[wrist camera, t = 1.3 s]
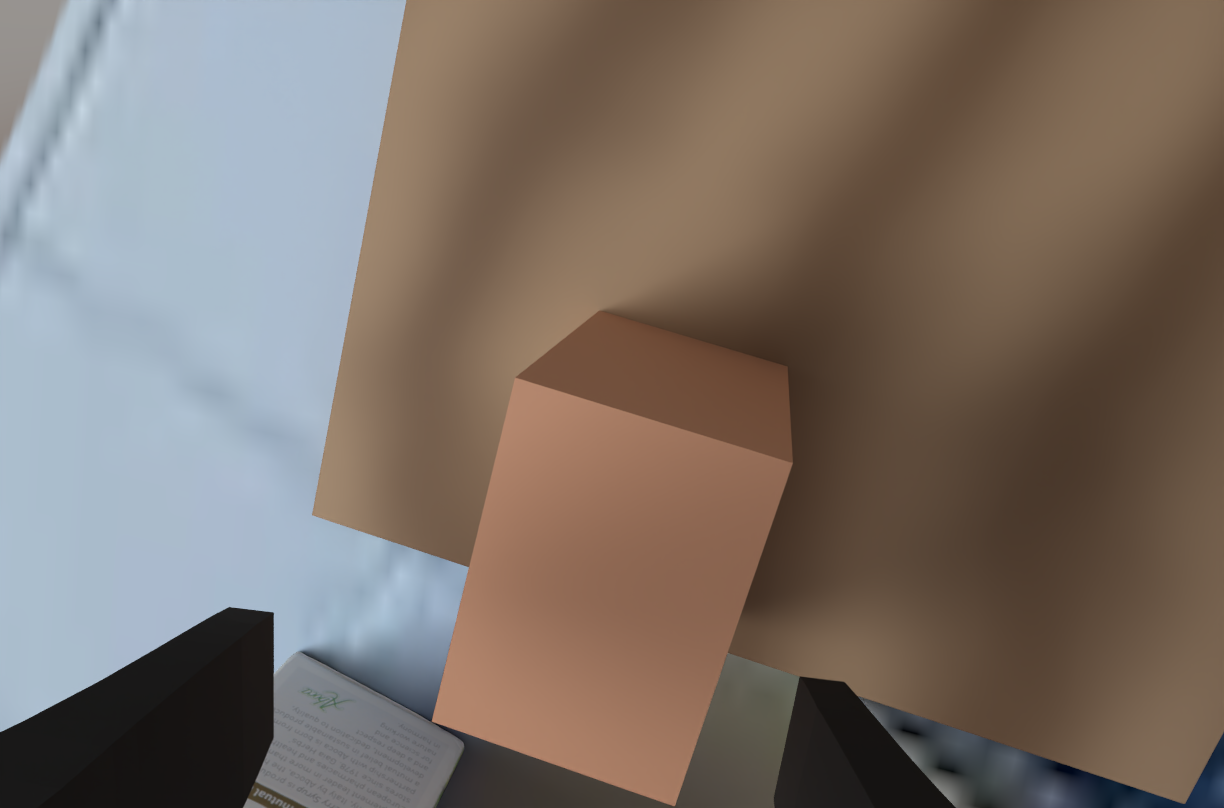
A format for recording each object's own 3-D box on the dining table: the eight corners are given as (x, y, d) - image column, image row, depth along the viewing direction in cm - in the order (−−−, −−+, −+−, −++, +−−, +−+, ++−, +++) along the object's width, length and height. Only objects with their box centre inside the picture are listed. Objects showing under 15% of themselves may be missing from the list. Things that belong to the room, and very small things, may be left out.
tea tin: (787, 366, 20) (792, 463, 14) (705, 614, 22) (674, 806, 15) (597, 310, 21) (512, 376, 14) (532, 557, 23) (428, 720, 16)
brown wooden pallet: (1573, -8, 17) (1759, -49, 14) (1163, 771, 22) (1229, 873, 19) (479, -268, 19) (419, -355, 16) (333, 498, 24) (266, 549, 21)
